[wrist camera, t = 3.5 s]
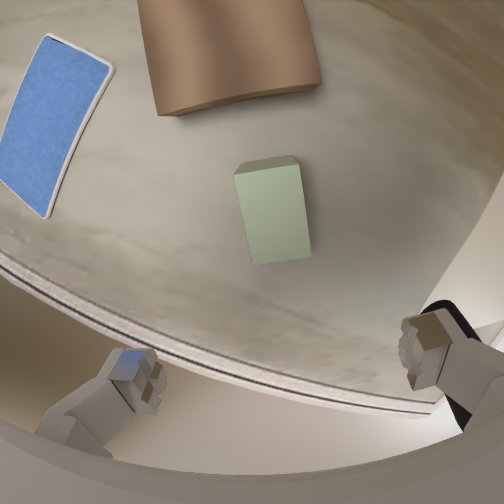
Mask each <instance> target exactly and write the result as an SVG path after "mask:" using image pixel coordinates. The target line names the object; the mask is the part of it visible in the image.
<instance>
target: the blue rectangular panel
mask: <svg viewBox="0 0 504 504" xmlns="http://www.w3.org/2000/svg"><path fill="white" fill-rule="evenodd" d="M115 71H116V66H115V65H114V63H112V62H110V61H108V60H106V59H104V58H102V57H101V56H99V55H97V54H95V53H93V52H91V51H89V50H87V49H85V48H83V47H81V46H79V45H77V44H75V43H73V42H71V41H69V40H67V39H64V38H62V37H60V36H58V35H56V34H54V33H48V34H46V35H45V36H44V37H43V39H42V40H41V42H40V44H39V46H38V48H37V50H36V52H35V54H34V56H33V58H32V60H31V62H30V64H29V66H28V68H27V70H26V73H25V75H24V77H23V79H22V82H21V84H20V86H19V89H18V91H17V94H16V96H15V99H14V101H13V104H12V107H11V110H10V112H9V115H8V118H7V121H6V124H5V127H4V130H3V134H2V137H1V140H0V180H1V181H2V182H3V183H4V184H5V185H6V186H7V187H8V188H9V189H10V190H11V191H12V192H13V193H15V194H16V195H17V196H18V197H19V198H20V199H21V200H22V201H23V202H24V203H25V204H27V205H28V206H29V207H30V208H31V209H32V210H33V211H34V212H36V213H37V214H38V215H39V216H40V217H41V218H43V219H48V218H49V217H50V215H51V211H52V208H53V205H54V202H55V199H56V196H57V193H58V190H59V187H60V184H61V182H62V179H63V176H64V174H65V171H66V169H67V166H68V164H69V161H70V159H71V156H72V154H73V152H74V149H75V147H76V145H77V143H78V141H79V138H80V136H81V134H82V132H83V130H84V128H85V126H86V124H87V122H88V120H89V118H90V116H91V114H92V112H93V111H94V109H95V107H96V105H97V103H98V101H99V99H100V97H101V96H102V94H103V93H104V91H105V89H106V87H107V85H108V84H109V82H110V80H111V79H112V77H113V76H114V74H115Z"/></svg>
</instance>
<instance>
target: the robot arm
mask: <svg viewBox="0 0 504 504" xmlns="http://www.w3.org/2000/svg"><path fill="white" fill-rule="evenodd" d="M401 329H402V331H403V333H404V334H403V335H402V337H401V338H400V339H399V356H400V360H401V363H402V365H403V367H405V368H407V369H408V374H407V378H408V380H409V383H410V385H411V388H412V390H413V391H416V390H420V389H424V388H427V387H431V386H434V385H436V387H438V388H439V389H440V390H442V391H443V392H444V393H445V394H447V395H448V396H449V397H451V398H452V399H453V400H454V401H456V402H457V403H458V404H460V405H461V406H462V407H463V408H465V409H466V410H467V411H469V412H470V413H471V414H472V417H471V418H470V420H469V421H468V423H467V425H466V426H465V428H464V433H461V434H459V435H456V436H454V437H451V438H449V439H446V440H444V441H441V442H438V443H435V444H433V445H430V446H427V447H424V448H421V449H417V450H414V451H411V452H408V453H404V454H401V455H397V456H393V457H389V458H385V459H382V460H377V461H373V462H368V463H363V464H358V465H353V466H348V467H342V468H335V469H328V470H321V471H313V472H303V473H293V474H292V473H291V474H275V475H219V474H203V473H192V472H182V471H174V470H167V469H160V468H154V467H147V466H142V465H137V464H132V463H127V462H123V461H118V460H114V459H112V458H113V456H112V454H111V453H110V452H109V451H108V450H107V449H105V448H104V446H105V445H106V444H107V443H108V442H109V441H110V440H111V439H112V438H113V437H114V436H115V435H116V434H117V433H118V432H119V431H120V430H121V429H122V428H123V427H124V426H125V425H126V424H127V423H128V422H129V421H130V420H131V419H132V418H133V417H134V416H135V414H146V415H156V414H157V411H158V408H159V405H160V403H161V399H160V397H159V395H160V394H161V393H163V392H164V391H165V388H166V385H167V375H166V372H165V369H164V367H163V365H161V364H160V363H158V362H157V358H158V356H157V354H156V352H155V351H154V349H151V348H115V349H113V350H112V352H111V353H110V355H109V356H108V358H107V360H106V362H105V363H104V365H103V367H102V368H101V370H100V372H99V374H98V375H97V377H96V379H91V380H89V381H88V382H87V383H85V384H84V385H82V386H81V387H80V388H78V389H76V390H75V391H74V392H72V393H71V394H69V395H68V396H66V397H65V398H63V399H62V400H60V401H59V402H57V403H56V404H55V405H53V406H52V407H50V408H49V409H48V410H47V412H46V413H45V415H44V417H43V418H42V420H41V422H40V424H39V425H38V427H37V429H36V431H35V433H32V432H29V431H27V430H25V429H23V428H21V427H19V426H16V425H14V424H12V423H10V422H8V421H6V420H4V419H2V418H0V504H504V353H502V352H500V351H498V350H496V349H494V348H492V347H490V346H488V345H486V344H484V343H482V342H479V341H477V340H475V339H473V338H469V339H468V338H467V337H466V335H465V334H464V333H463V331H462V330H461V328H460V327H459V325H458V324H457V323H456V321H455V320H454V318H453V317H452V316H451V314H450V313H449V312H448V310H447V309H445V308H442V309H439V310H435V311H432V312H429V313H425V314H421V315H416V316H412V317H408V318H404V319H403V321H402V326H401Z"/></svg>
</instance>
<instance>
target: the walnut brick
mask: <svg viewBox="0 0 504 504" xmlns="http://www.w3.org/2000/svg"><path fill="white" fill-rule="evenodd" d="M137 1H138V9H139V16H140V22H141V29H142V35H143V41H144V47H145V52H146V58H147V64H148V69H149V74H150V79H151V84H152V89H153V94H154V99H155V104H156V109H157V113H158V116H180V115H184V114H187V113H191V112H195V111H199V110H203V109H207V108H211V107H215V106H219V105H224V104H228V103H233V102H238V101H243V100H248V99H253V98H259V97H265V96H271V95H277V94H284V93H291V92H299V91H307V90H314V89H315V88H316V87H317V86H319V85H320V84H321V83H322V79H321V74H320V69H319V65H318V60H317V56H316V52H315V48H314V43H313V39H312V35H311V32H310V28H309V24H308V20H307V17H306V13H305V9H304V6H303V3H302V0H137Z"/></svg>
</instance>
